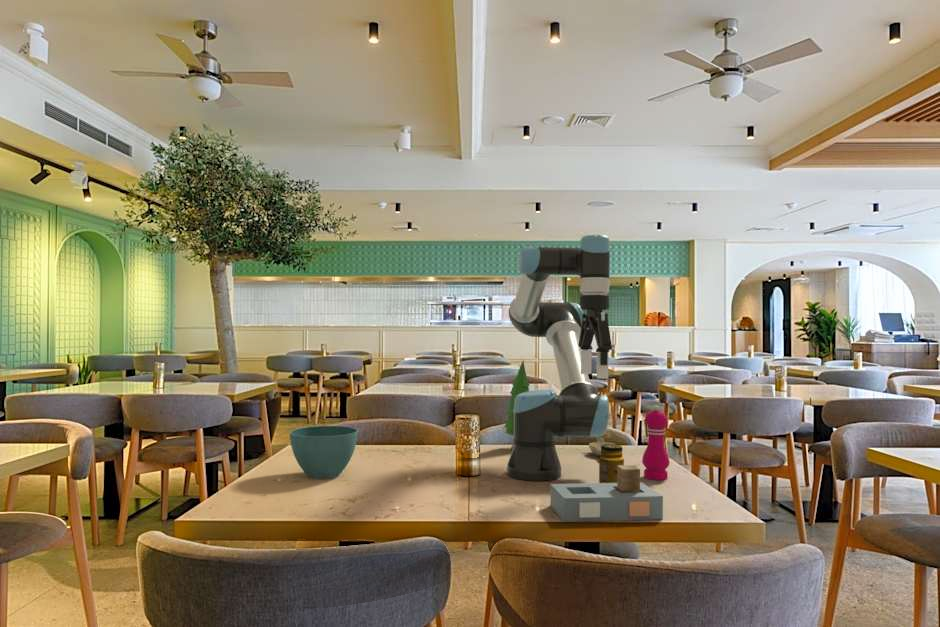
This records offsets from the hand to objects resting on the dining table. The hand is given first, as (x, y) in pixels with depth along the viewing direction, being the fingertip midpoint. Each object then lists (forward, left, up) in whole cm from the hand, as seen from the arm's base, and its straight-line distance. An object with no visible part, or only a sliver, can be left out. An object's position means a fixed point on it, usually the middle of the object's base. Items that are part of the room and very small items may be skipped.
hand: (594, 376), depth 165 cm
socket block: (+8, -21, -29) cm, 36 cm away
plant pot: (-69, -23, -29) cm, 78 cm away
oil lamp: (-7, +40, -29) cm, 50 cm away
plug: (+13, -18, -29) cm, 36 cm away
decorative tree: (-35, +37, -29) cm, 59 cm away
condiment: (+5, -5, -29) cm, 30 cm away
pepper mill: (+13, +18, -29) cm, 36 cm away
